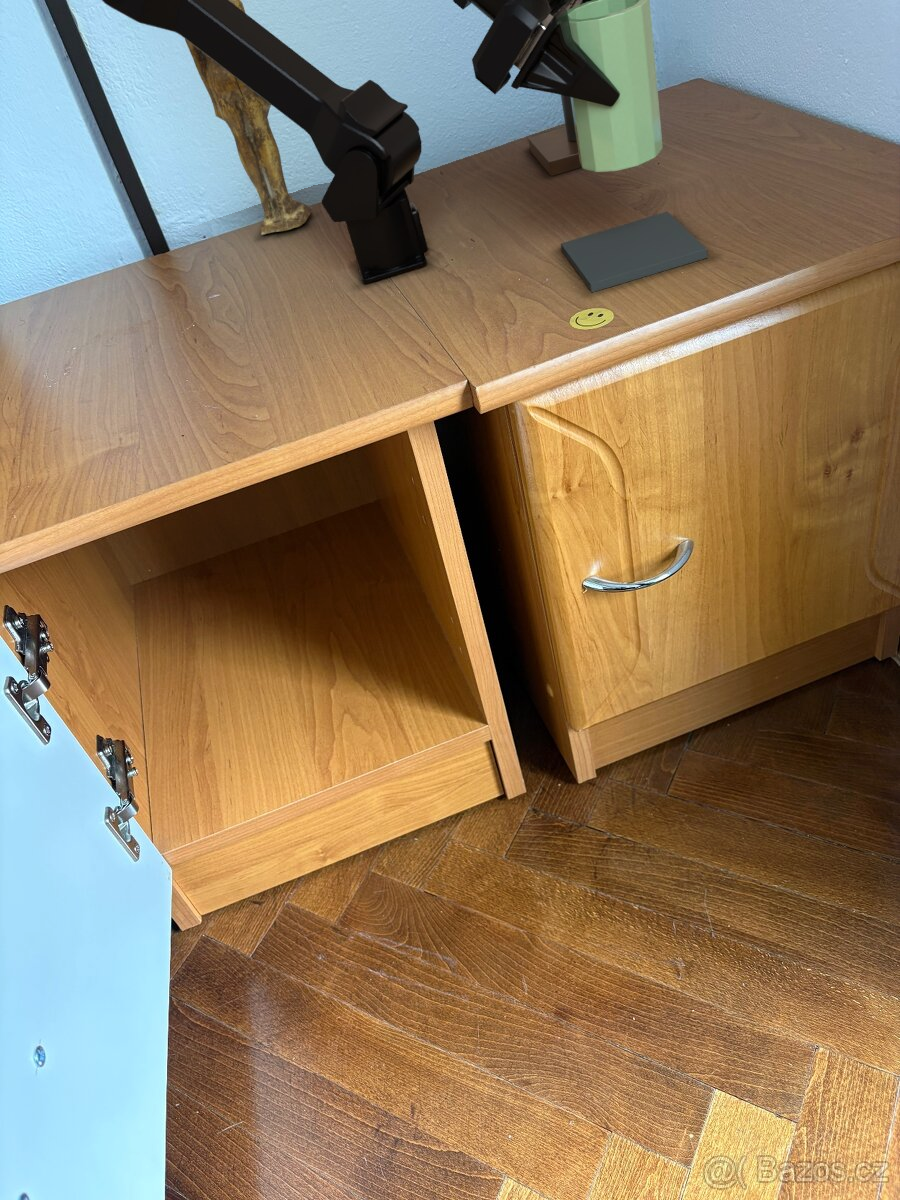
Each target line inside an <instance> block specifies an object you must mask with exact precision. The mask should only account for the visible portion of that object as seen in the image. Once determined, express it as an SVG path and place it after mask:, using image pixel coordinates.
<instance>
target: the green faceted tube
mask: <svg viewBox="0 0 900 1200" xmlns="http://www.w3.org/2000/svg"><path fill="white" fill-rule="evenodd" d="M567 12H568V18H569V24H570V30H571V35H572V38H573V40H574V41H575V42H576V43H577V44H578V45H579V47H580V48H581V49H582V50H583V51H584V52H585V53H586V54H587V55H588V56H589V58H590V59H591V60H592V61H593V62H594V63H595V64H596V65H597V66H598V68H599V69H600V70H601V71H602V72H603V73H604V74H605V75H606V76H607V78H608V79H609V80H610V81H611V82H612V84H613V85H614V86H615V87H616V89H617V90H618V91H619V92H620V97H619V98H618V100H617V101H616V103H615V104H614V105H613V106H611V107H610V106H606V105H601V104H597V103H593V102H589V101H585V100H581V99H577V98H572V97H571V104H572V111H573V118H574V125H575V132H576V139H577V146H578V153H579V160H580V164H581V166H582V167H581V168H582V169H583V170H587V171H590V172H595V173H606V172H607V173H608V172H619V171H622V170H627V169H631V168H634V167H638V166H641V165H642V164H645V163H647V162H649V161H651V160H653V159H656V157H657V156H659V154H660V153H661V152H662V150H663V147H664V146H663V145H664V144H663V136H662V135H663V134H662V123H661V113H660V111H661V110H660V102H659V92H658V91H659V89H658V79H657V68H656V56H655V47H654V35H653V24H652V13H651V0H592V1H588V2H585V3H583V4H581V5H578V6H576V7H573V8H571V9H569V10H567Z"/></svg>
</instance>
